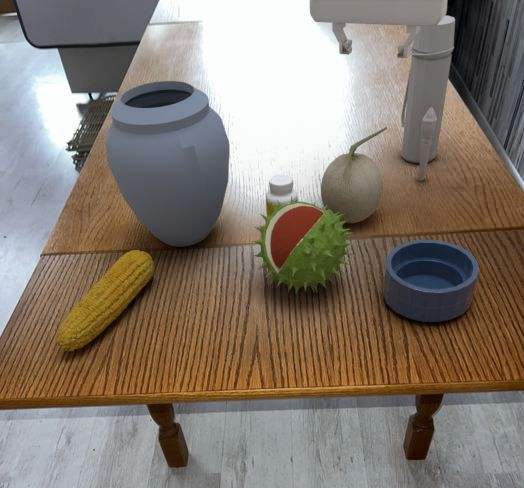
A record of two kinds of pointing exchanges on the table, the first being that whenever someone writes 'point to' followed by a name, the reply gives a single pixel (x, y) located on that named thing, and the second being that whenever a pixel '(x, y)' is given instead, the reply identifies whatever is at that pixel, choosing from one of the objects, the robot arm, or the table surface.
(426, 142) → the pen
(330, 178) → the fruit
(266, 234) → the chestnut
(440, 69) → the water bottle
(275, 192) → the supplement bottle
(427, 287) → the bowl
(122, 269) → the food
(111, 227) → the table surface
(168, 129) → the vase
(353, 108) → the table surface
